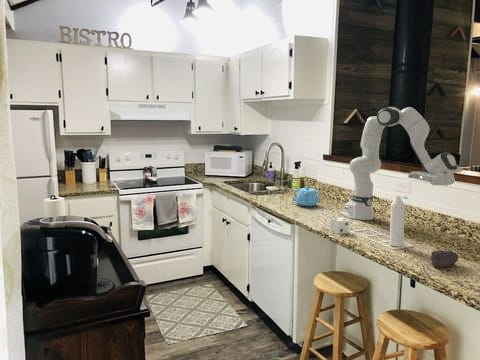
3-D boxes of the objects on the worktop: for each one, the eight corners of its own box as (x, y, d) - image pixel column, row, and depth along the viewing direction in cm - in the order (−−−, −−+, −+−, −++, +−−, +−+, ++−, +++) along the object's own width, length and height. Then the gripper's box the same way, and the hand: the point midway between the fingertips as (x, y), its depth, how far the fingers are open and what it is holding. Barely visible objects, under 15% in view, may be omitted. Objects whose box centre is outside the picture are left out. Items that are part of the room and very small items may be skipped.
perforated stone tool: (452, 262, 169) (454, 247, 168) (462, 266, 164) (464, 251, 163) (425, 265, 165) (426, 250, 164) (434, 270, 160) (436, 254, 159)
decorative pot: (322, 207, 270) (323, 188, 267) (302, 208, 264) (303, 189, 262) (310, 202, 285) (311, 184, 282) (291, 203, 279) (292, 185, 277)
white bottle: (386, 244, 192) (388, 194, 189) (396, 242, 194) (398, 194, 192) (400, 248, 184) (402, 197, 181) (409, 247, 187) (412, 196, 184)
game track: (349, 231, 211) (349, 231, 211) (368, 229, 217) (368, 228, 217) (393, 249, 183) (393, 249, 183) (414, 246, 189) (414, 245, 189)
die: (330, 230, 213) (331, 218, 212) (340, 229, 216) (341, 216, 215) (338, 234, 207) (339, 221, 206) (348, 232, 210) (349, 220, 208)
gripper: (423, 168, 214) (402, 169, 211) (452, 174, 195) (429, 174, 191) (422, 179, 215) (401, 180, 212) (450, 186, 196) (428, 186, 192)
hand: (414, 177), depth 201 cm, fingers open, 8 cm apart
